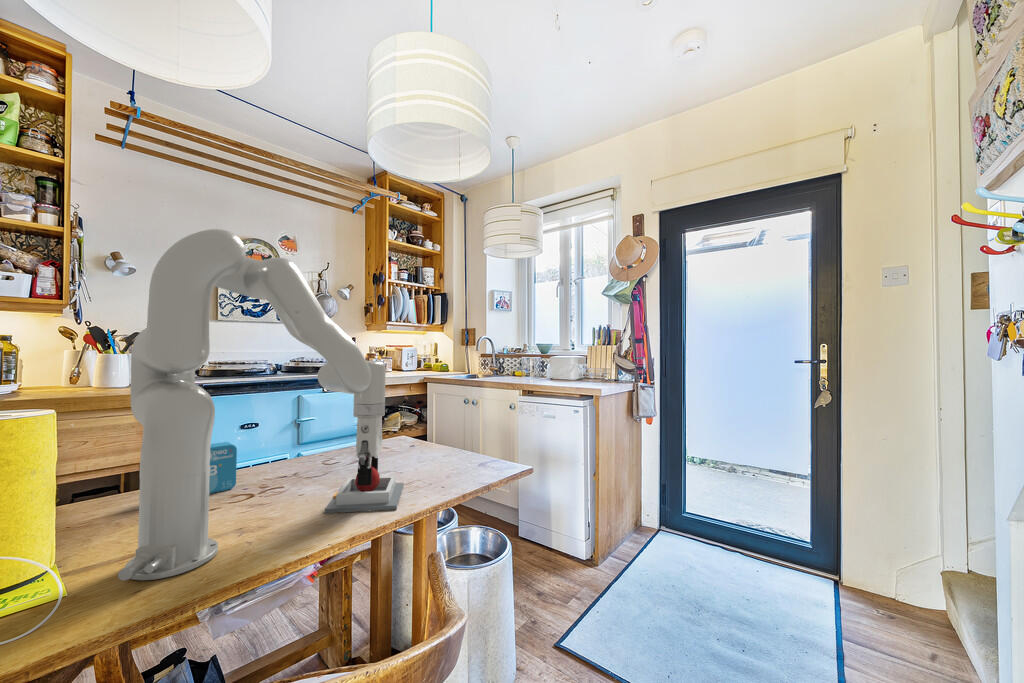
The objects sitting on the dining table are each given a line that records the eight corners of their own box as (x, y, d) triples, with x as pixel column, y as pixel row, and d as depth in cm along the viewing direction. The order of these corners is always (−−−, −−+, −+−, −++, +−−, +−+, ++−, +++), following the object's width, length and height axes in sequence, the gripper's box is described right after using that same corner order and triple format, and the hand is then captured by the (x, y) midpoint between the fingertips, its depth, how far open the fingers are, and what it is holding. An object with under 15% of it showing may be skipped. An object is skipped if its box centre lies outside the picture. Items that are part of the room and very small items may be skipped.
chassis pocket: (396, 509, 94) (396, 494, 94) (324, 513, 92) (324, 498, 92) (403, 486, 110) (403, 473, 110) (342, 488, 108) (342, 475, 108)
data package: (178, 500, 98) (179, 451, 98) (175, 496, 101) (176, 448, 101) (236, 488, 107) (237, 443, 107) (231, 484, 110) (232, 440, 110)
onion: (374, 499, 98) (375, 467, 98) (350, 498, 98) (351, 466, 98) (382, 490, 104) (383, 459, 104) (360, 489, 104) (361, 458, 104)
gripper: (379, 415, 93) (377, 490, 93) (389, 404, 111) (388, 468, 110) (345, 415, 92) (343, 492, 92) (361, 405, 109) (359, 469, 109)
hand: (368, 478), depth 101 cm, fingers open, 8 cm apart
